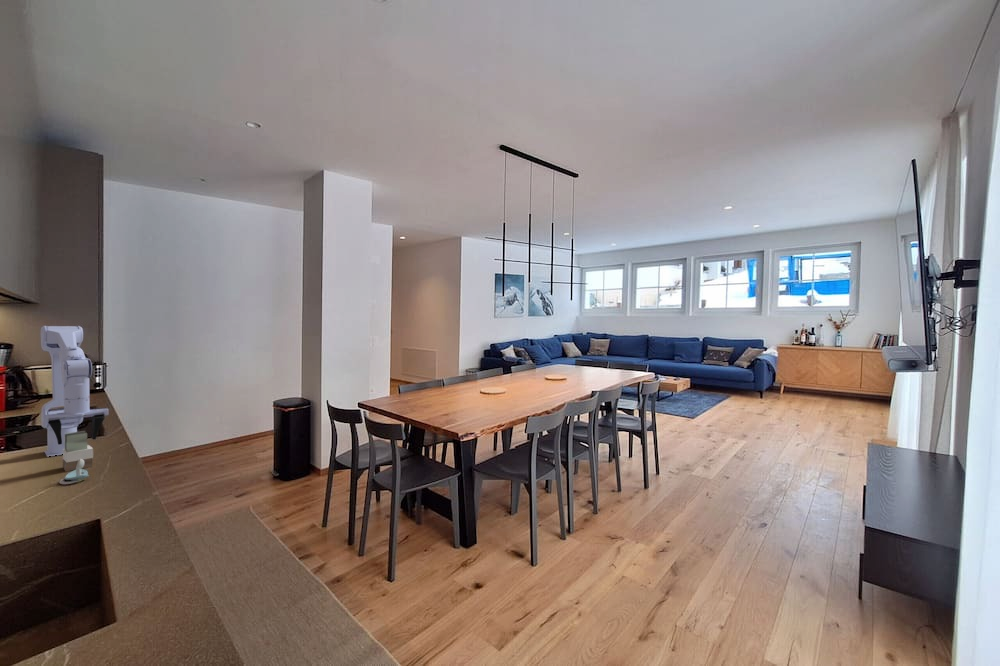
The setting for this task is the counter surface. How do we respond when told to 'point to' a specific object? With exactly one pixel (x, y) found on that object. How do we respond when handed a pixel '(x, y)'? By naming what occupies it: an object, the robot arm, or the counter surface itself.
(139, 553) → the counter surface
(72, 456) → the top slab
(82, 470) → the pacifier
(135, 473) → the counter surface
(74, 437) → the green block
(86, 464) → the base slab
